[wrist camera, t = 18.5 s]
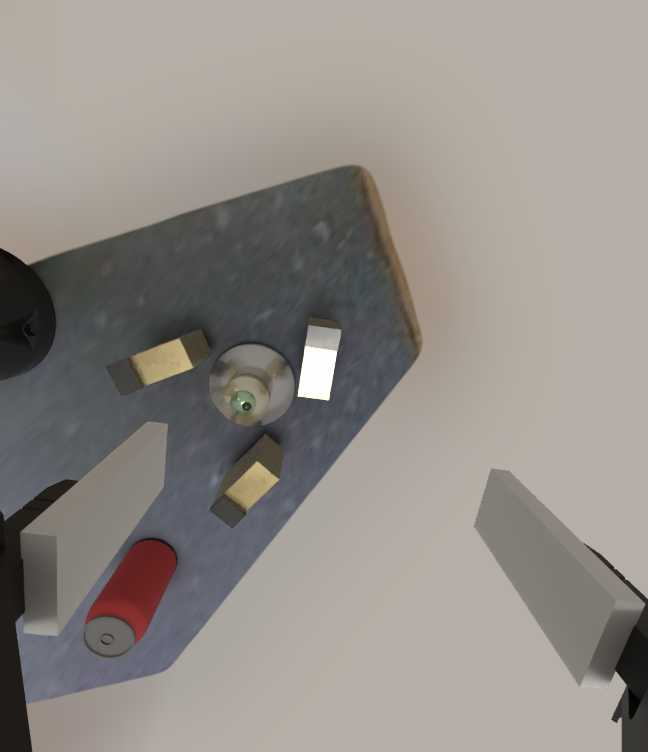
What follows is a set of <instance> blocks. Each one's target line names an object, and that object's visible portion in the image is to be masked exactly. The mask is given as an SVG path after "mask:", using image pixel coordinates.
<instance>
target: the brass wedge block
mask: <svg viewBox="0 0 648 752" xmlns="http://www.w3.org/2000/svg"><path fill="white" fill-rule="evenodd" d="M283 453H284V449H282V448H281V447H280V446H279V445H278V444H277V443H275V442H274V441H273V440H272V439H271V438H270V437H269V436H267V435H266V434H265V435H264V436H263V437H262V438H261V439H260V440H259V441H258V442H257V443H256V444H255V445H254V446H253V447H252V448H251V449H250V450H249V451H248V452H247V453H246V454H245V455H244V456H243V457H242V458H241V459H240V460H239V461H238V462H237V463H236V464H235V465H234V466H233V467H231V468H230V469H229V470H228V471H227V472H226V475H225V477H224V479H223V481H222V484H221V486H220V488H219V491H218V493H217V495H216V497H215V500H214V502H213V504H212V506H211V509H210V511H211V512H212V513H213V514H215V515H216V516H217V517H218V518H220V519H221V520H222V521H224V522H225V523H226V524H227V525H229V526H230V527H231V528H233V527H234V526H235V525H236V524H237V523H238V522H239V521H240V520H241V519H242V518H243V517H244V516H245V515H246V511H247V510H248V509H249V508H250V507H251V506H252V505H253V504H254V503H255V502H257V501H258V500H259V499H260V498H261V497H262V496H263V495H264V494H265V493H266V492H267V491H268V490H269V489H270V488H271V487H272V486H273V485H274V484H275V483H276V482H277V481H278V480H279V478H280V471H281V465H282V459H283Z"/></svg>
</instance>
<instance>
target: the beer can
mask: <svg viewBox="0 0 648 752" xmlns="http://www.w3.org/2000/svg"><path fill="white" fill-rule="evenodd" d="M176 563H177V561H176V557H175V554H174V552H173V551H172V549H171V548H170V547H169V546H167V545H166V544H165V543H162V542H160V541H155V540H146V541H141V542H139V543H137V544H135V545H134V546H133V547H132V548H131V549H130V550H129V551H128V553H127V554H126V556H125V557H124V559H123V560H122V562H121V563H120V565H119V566H118V568H117V569H116V571H115V572H114V574H113V575H112V577H111V578H110V580H109V581H108V583H107V584H106V586H105V587H104V589H103V590H102V591H101V593H100V594H99V596H98V597H97V599H96V600H95V602H94V603H93V605H92V606H91V608H90V611H89V613H88V615H87V618H86V621H85V626H84V627H83V630H82V632H81V640H82V642H83V645H84V647H85V648H86V649H87V650H88V651H89V652H90V653H92V654H93V655H95V656H97V657H100V658H103V659H117V658H121V657H123V656H125V655H127V654H128V653H129V652H130V651H131V650H132V649H133V647H134V645H135V644H136V643H137V642H138V641H139V640H140V639H141V638H142V637H143V635H144V634H145V632H146V630H147V628H148V626H149V624H150V622H151V620H152V618H153V616H154V613H155V611H156V609H157V607H158V605H159V603H160V601H161V599H162V596H163V594H164V592H165V590H166V588H167V586H168V584H169V582H170V579H171V577H172V575H173V573H174V571H175V569H176Z"/></svg>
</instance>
